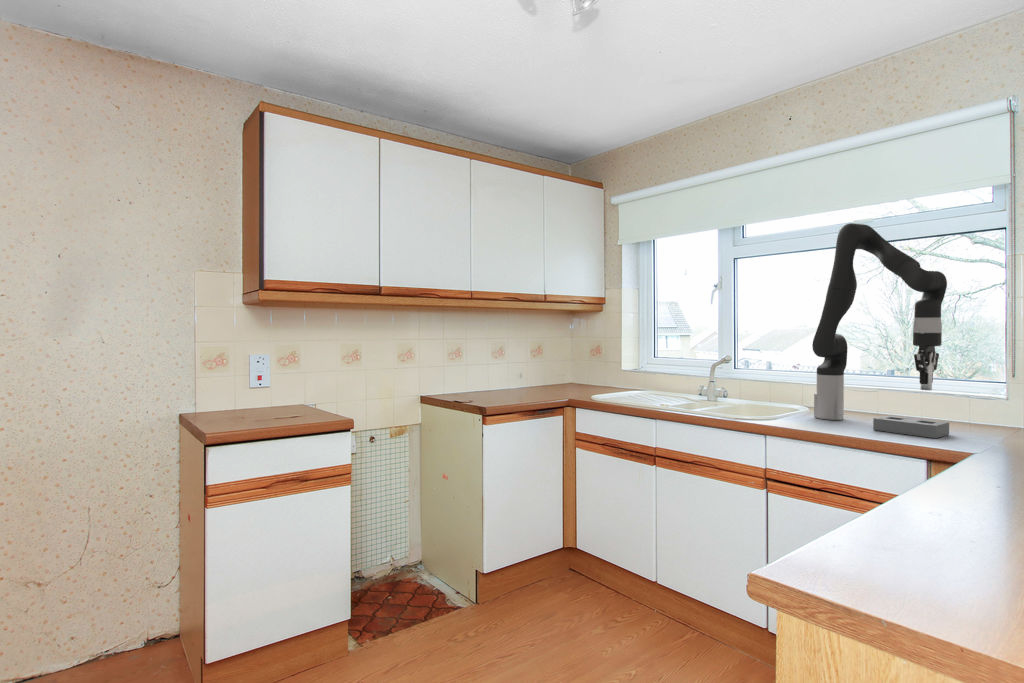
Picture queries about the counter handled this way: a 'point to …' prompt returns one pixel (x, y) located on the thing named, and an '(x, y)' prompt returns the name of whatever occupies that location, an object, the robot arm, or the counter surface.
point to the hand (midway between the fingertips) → (926, 383)
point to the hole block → (911, 426)
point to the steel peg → (929, 385)
